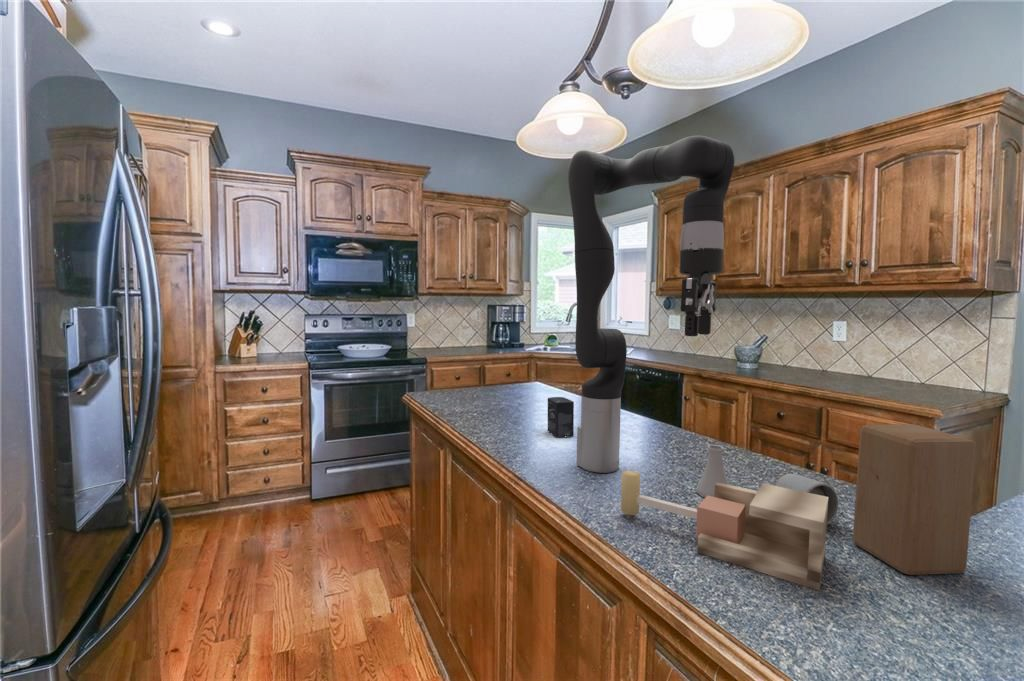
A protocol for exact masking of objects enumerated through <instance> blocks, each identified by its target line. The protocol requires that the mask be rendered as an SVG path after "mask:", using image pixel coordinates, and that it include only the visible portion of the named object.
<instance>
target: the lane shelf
mask: <svg viewBox="0 0 1024 681" xmlns="http://www.w3.org/2000/svg"><path fill="white" fill-rule="evenodd" d="M774 485H775V484H773V485H772V484H769V483H762V484H761V486H760V487H759V489H758V490H754V489H749V488H744V487H741V486H737V485H731V484H729V485H728V484H723V483H719V482H717V483H716V484H715V494H714V497H716V498H720V499H725V500H729V501H733V502H737V503H741V504H745V505H746V510H745V530H744V536H743V538H742V539H741V541H740V543H739V544H736V543H733V542H729V541H726V540H722V539H719V538H715V537H712V536H708V535H705V534H702V533H700V535H699V536H698V537H697V546H696V547H697V550H696V552H697V553H698V554H701V555H705V556H707V557H710V558H714V559H717V560H721V561H724V562H727V563H730V564H733V565H736V566H740V567H742V568H745V569H750V570H753V571H755V572H758V573H762V574H765V575H769V576H772V577H775V578H777V579H781V580H784V581H788V582H790V583H794V584H798V585H800V586H804V587H806V588H810V589H813V590H817V591H820V590H821V582H822V576H823V573H824V572H823V570H824V564H825V558H826V545H827V544H826V543H827V530H828V529H827V528H828V526H827V525H828V524H827V514H828V497H826V496H821V495H816V494H812V493H807V492H802V491H797V490H793V489H788V488H783V487H778V486H774Z"/></svg>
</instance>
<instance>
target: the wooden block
mask: <svg viewBox="0 0 1024 681" xmlns="http://www.w3.org/2000/svg"><path fill="white" fill-rule="evenodd" d="M976 455H977V443H976V442H975V441H974V440H972V439H970V438H967V437H964V436H960V435H957V434H953V433H949V432H945V431H942V430H937V429H935V428H930V427H925V426H922V425H918V424H916V423H915V424H913V423H912V424H906V423H905V424H864V425H863V426H861V427H860V430H859V441H858V455H857V473H856V484H855V485H856V486H855V502H854V518H853V533H852V539H853V542H854V543H855V545H856V546H858V547H859V548H861V549H862V550H865V552H868V553H869V554H871V555H873V556H874V557H875V558H877V559H879V560H881V561H882V562H884V563H886V564H888V565H889V566H890V567H892V568H894V569H895V570H897V571H899V572H900V573H902V574H904V575H908V576H914V575H915V576H916V575H917V576H918V575H939V574H940V575H943V574H962V573H964V572H965V570H966V569H967V562H968V550H969V539H970V537H969V536H970V526H971V513H972V501H973V491H974V479H975V466H976Z"/></svg>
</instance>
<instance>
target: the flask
mask: <svg viewBox="0 0 1024 681" xmlns="http://www.w3.org/2000/svg"><path fill="white" fill-rule="evenodd" d="M706 448H707V450H708V456H707V460H706V465H705V467H704V469H703V472H702V475H701V477H700V480H699V482H698V484H697V486H696V489H694V490H695V493H697V494H698V495H699V496H701V497H702V498H705V497H706V496H707V495H708V496H712V497H714V494H715V484H716V483H717V482H719V483H723V484H728V485H730V484H729V480H728V477H727V474H726V470H725V467H724V461H723V451H724V450H725V447H723V446H722V445H718V444H708V445H707V447H706Z"/></svg>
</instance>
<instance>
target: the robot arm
mask: <svg viewBox="0 0 1024 681" xmlns="http://www.w3.org/2000/svg"><path fill="white" fill-rule="evenodd" d="M734 168H735V154H734V151H733V149H732V147H731V145H730V144H728V143H727V142H725V141H722V140H718V139H714V138H712V137H708V136H705V135H689V136H687V137H683V138H681V139H679V140H677V141H674V142H673V143H670V144H666V145H661V146H660V145H659V146H656V147H651V148H647V149H643V150H642V151H639V152H638V153H636V154H635V155H634V156H633V157H631V158H627V159H626V158H613V157H610V156H608V155H606V154H603V153H602V154H601V153H598V152H594V151H590V150H585V149H584V150H579V151H576V152H575V153H574V154H573V156H572V157H571V159H570V162H569V165H568V171H567V172H568V174H567V176H568V177H567V182H568V190H569V196H570V204H571V211H572V212H571V213H572V222H573V223H572V224H573V235H574V268H575V282H576V283H575V287H576V319H575V320H576V321H575V339H574V340H575V341H574V342H575V343H574V344H575V353H576V359H577V361H578V363H579V365H580V366H581V367H583V368H586V369H596V368H597V369H599V370H598V373H596V375H594V376H593V377H592V378H590V379H588V380H586V381H585V382H583V383H582V386H581V404H580V406H581V408H580V409H581V410H580V414H581V415H580V425H578V426H577V429H576V430H577V432H576V435H577V436H576V463H575V464H576V467H577V466H578V467H580V468H582V469H583V470H586V471H589V472H593V473H598V474H599V473H606V474H607V473H614V472H617V471H618V470H619V468H620V443H621V441H620V438H621V411H622V410H621V408H622V407H621V406H622V401H621V399H622V390H623V387H624V385H625V378H626V375H625V374H626V365H627V364H626V363H627V352H628V351H627V347H628V346H627V341H626V340H627V339H626V338H625V335H624V333H623V332H622V331H621V330H619V329H618V328H598V327H599V326H598V316H599V315H598V314H599V308H600V304H601V302H602V299H603V297H604V296H605V294H606V292H607V290H608V288H609V286H610V285H611V282H612V280H613V278H614V275H615V249H614V248H615V247H614V243H613V240H612V237H611V235H610V233H609V230H608V229H607V227H606V225H605V224H604V221H603V220H602V217H601V216H600V214H599V211H598V208H597V204H596V196H602V195H606V194H610V193H613V192H615V191H619V190H621V189H625V188H629V187H633V186H640V185H641V186H642V185H651V184H652V185H653V184H662V183H663V184H664V183H672V182H675V181H677V180H680V179H681V178H682V177H690V178H691V177H692V178H696V179H699V182H698V187H697V190H695V191H694V190H693V191H690V192H689V193H688V194H686V195H685V197H684V200H683V208H682V209H683V210H682V226H681V227H682V228H681V234H680V246H679V271H678V272H679V274H681V275H683V276H688V277H685V278H684V277H683V278H682V279H681V283H682V284H681V295H680V296H681V298H680V299H681V300H680V311H681V312H683V315H684V316H685V318H684V335H685V336H686V337H697V336H699V335H710V334H711V331H712V329H711V328H712V316H713V314H714V313H715V312H716V309H717V308H716V302H717V301H716V300H717V299H716V298H717V297H716V296H717V282H716V281H712V279H711V277H712V276H716V275H721V274H722V273H723V269H724V268H723V267H724V266H723V265H724V247H725V245H724V242H725V233H724V230H725V229H724V210H725V209H724V207H725V199H726V196H727V193H728V190H729V187H730V183H731V179H732V176H733V172H734ZM595 195H596V196H595Z"/></svg>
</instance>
